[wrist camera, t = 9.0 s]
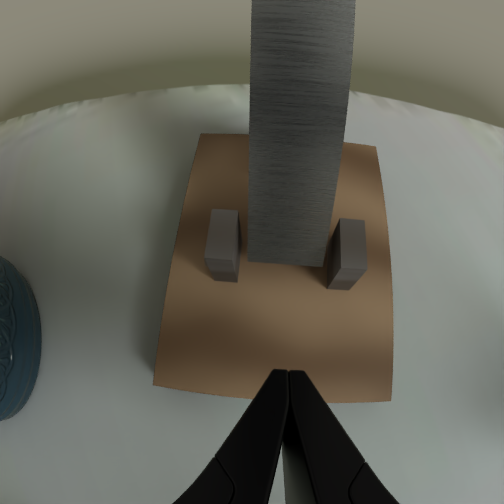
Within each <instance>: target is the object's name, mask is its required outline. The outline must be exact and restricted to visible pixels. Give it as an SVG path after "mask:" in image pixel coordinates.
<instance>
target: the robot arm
mask: <svg viewBox="0 0 504 504" xmlns="http://www.w3.org/2000/svg"><path fill="white" fill-rule="evenodd" d="M281 445H282V458H283V472H284V487H285V502H286V504H399V502H398V501H397V500H396V499H395V498H394V497H393V496H392V495H391V494H390V492H389V491H388V490H387V489H386V488H385V487H384V485H383V484H382V483H381V481H380V480H379V479H378V477H377V476H376V475H375V473H374V472H373V471H372V469H371V468H370V466H369V465H368V463H367V462H365V459H364V458H363V456H362V455H361V453H360V452H359V450H358V449H357V448H356V446H355V445H354V443H353V442H352V440H351V439H350V437H349V436H348V434H347V433H346V431H345V430H344V428H343V427H342V426H341V424H340V423H339V421H338V420H337V418H336V417H335V415H334V414H333V412H332V411H331V409H330V408H329V406H328V405H327V403H326V402H325V400H324V399H323V397H322V396H321V394H320V393H319V391H318V390H317V388H316V387H315V385H314V384H313V382H312V381H311V379H310V378H309V376H308V375H307V373H306V372H305V371H304V370H289V372H288V370H287V369H273V370H272V371H271V372H270V374H269V375H268V377H267V379H266V380H265V382H264V383H263V385H262V386H261V388H260V389H259V391H258V393H257V394H256V396H255V397H254V399H253V400H252V402H251V403H250V405H249V406H248V408H247V409H246V411H245V412H244V414H243V415H242V417H241V418H240V420H239V421H238V423H237V424H236V426H235V427H234V429H233V430H232V432H231V433H230V434H229V436H228V437H227V439H226V440H225V442H224V443H223V444H222V446H221V447H220V449H219V450H218V451H217V453H216V454H215V457H214V458H212V459H211V461H210V462H209V464H208V465H207V466H206V468H205V469H204V470H203V471H202V473H201V474H200V475H199V476H198V478H197V479H196V480H195V481H194V483H193V484H192V485H191V486H190V487H189V488H188V489H187V490H186V491H185V492H184V493H183V494H182V495H181V496H180V497H179V498H178V499H177V500H176V501H175V502H174V503H173V504H268V501H269V497H270V493H271V489H272V485H273V481H274V476H275V472H276V468H277V463H278V459H279V454H280V450H281ZM364 462H365V463H364Z"/></svg>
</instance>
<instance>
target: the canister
mask: <svg viewBox="0 0 504 504" xmlns="http://www.w3.org/2000/svg"><path fill="white" fill-rule="evenodd" d="M40 356H41V326H40V318H39V312H38V308H37V304H36V301H35V298H34V295H33V292H32V290H31V288H30V286H29V284H28V283H27V281H26V280H25V278H24V277H23V276H22V275H21V274H20V273H19V272H18V271H17V270H16V268H15V267H14V266H13V265H12V264H11V263H10V262H9V261H7V260H6V259H4V258H2V257H1V256H0V421H2V420H6V419H9V418H11V417H13V416H14V415H15V414H17V413H18V412H19V411H20V410H21V409H22V408H23V406H24V405H25V404H26V402H27V400H28V399H29V397H30V395H31V392H32V390H33V388H34V385H35V382H36V378H37V374H38V370H39V364H40Z"/></svg>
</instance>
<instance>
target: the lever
mask: <svg viewBox="0 0 504 504" xmlns="http://www.w3.org/2000/svg"><path fill="white" fill-rule="evenodd" d="M251 19H252V20H251V65H250V120H249V182H248V254H247V262H260V263H273V264H287V265H301V266H315V267H322V266H323V261H324V256H325V251H326V246H327V240H328V235H329V229H330V224H331V218H332V212H333V207H334V201H335V194H336V188H337V182H338V175H339V168H340V162H341V155H342V147H343V140H344V132H345V124H346V115H347V106H348V97H349V87H350V77H351V65H352V51H353V38H354V19H355V0H252V17H251Z"/></svg>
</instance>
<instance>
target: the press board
mask: <svg viewBox="0 0 504 504" xmlns="http://www.w3.org/2000/svg"><path fill="white" fill-rule="evenodd" d="M248 182H249V135H247V134H201V135H200V138H199V142H198V146H197V150H196V154H195V158H194V162H193V166H192V170H191V174H190V178H189V182H188V187H187V191H186V195H185V200H184V204H183V209H182V213H181V218H180V223H179V227H178V232H177V237H176V242H175V247H174V252H173V257H172V262H171V268H170V273H169V279H168V284H167V290H166V296H165V302H164V308H163V314H162V321H161V327H160V334H159V341H158V348H157V356H156V363H155V371H154V380H153V385H155V386H161V387H166V388H172V389H178V390H184V391H190V392H197V393H204V394H211V395H219V396H227V397H236V398H246V399H254V397H255V396H256V394H257V393H258V391H259V389H260V388H261V386H262V385H263V383H264V382H265V380H266V379H267V377H268V375H269V374H270V372H271V371H272V370H273V369H287V370H288V372H289V370H304V371H305V372H306V373H307V375H308V376H309V378H310V379H311V381H312V382H313V384H314V385H315V387H316V388H317V390H318V391H319V393H320V394H321V396H322V397H323V399H324V400H325V402H326V403H356V402H383V401H391V394H392V375H393V293H392V273H391V259H390V246H389V235H388V226H387V217H386V209H385V201H384V193H383V187H382V180H381V174H380V167H379V162H378V156H377V150H376V147H375V146H369V145H361V144H354V143H346V142H343V147H342V155H341V162H340V168H339V175H338V182H337V188H336V194H335V201H334V207H333V212H332V218H331V224H330V229H329V235H328V240H327V246H326V251H325V256H324V261H323V266H322V267H315V266H301V265H287V264H273V263H260V262H247V254H248Z"/></svg>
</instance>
